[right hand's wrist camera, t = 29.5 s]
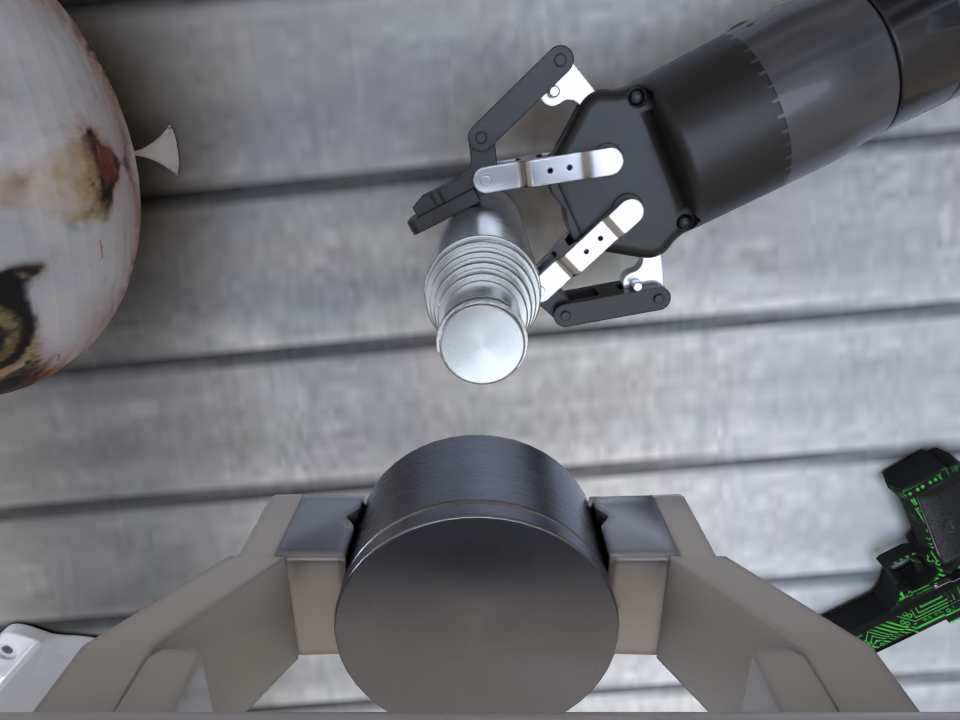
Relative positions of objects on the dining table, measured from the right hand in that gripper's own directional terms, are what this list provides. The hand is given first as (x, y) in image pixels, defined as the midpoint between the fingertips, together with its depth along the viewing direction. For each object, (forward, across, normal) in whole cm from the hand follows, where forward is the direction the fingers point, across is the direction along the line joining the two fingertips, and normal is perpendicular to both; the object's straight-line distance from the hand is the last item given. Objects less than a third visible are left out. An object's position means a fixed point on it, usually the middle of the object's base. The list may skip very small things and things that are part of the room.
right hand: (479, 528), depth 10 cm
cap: (-2, 0, 0) cm, 2 cm away
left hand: (+23, -2, -1) cm, 23 cm away
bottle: (+30, 0, 0) cm, 30 cm away
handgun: (+30, +30, -24) cm, 49 cm away
